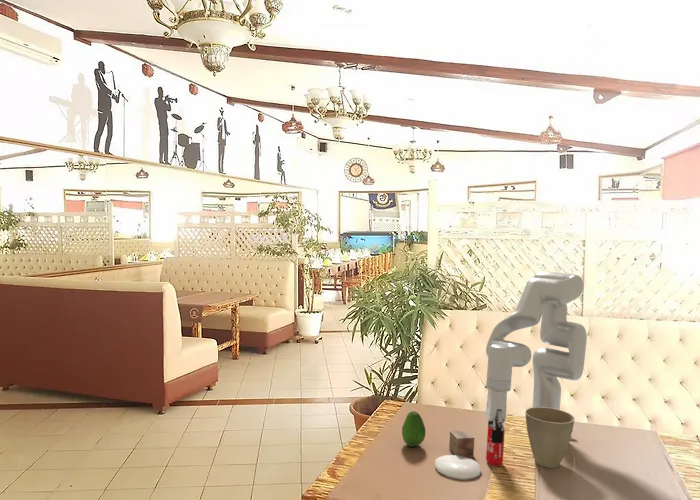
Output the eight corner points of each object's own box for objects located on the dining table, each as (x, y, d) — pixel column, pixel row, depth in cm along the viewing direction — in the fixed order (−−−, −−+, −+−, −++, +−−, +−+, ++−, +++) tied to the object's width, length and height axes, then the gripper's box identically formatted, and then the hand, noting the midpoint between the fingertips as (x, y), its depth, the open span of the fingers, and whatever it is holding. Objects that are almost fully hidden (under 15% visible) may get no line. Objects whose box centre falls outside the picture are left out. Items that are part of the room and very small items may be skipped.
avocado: (398, 447, 179) (400, 412, 178) (405, 439, 186) (406, 405, 185) (421, 452, 176) (423, 417, 175) (427, 443, 183) (429, 409, 182)
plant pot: (569, 457, 177) (573, 410, 176) (573, 477, 163) (576, 426, 162) (522, 449, 182) (525, 403, 181) (521, 468, 168) (524, 418, 167)
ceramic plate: (478, 461, 171) (478, 457, 171) (483, 481, 157) (483, 477, 157) (434, 456, 173) (434, 453, 173) (435, 476, 159) (435, 472, 159)
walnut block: (465, 447, 181) (466, 430, 181) (473, 455, 175) (474, 437, 175) (449, 448, 180) (450, 431, 180) (456, 456, 174) (457, 438, 174)
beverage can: (503, 467, 167) (505, 430, 167) (486, 465, 168) (488, 428, 168) (502, 460, 172) (504, 424, 172) (485, 458, 174) (487, 422, 173)
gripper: (483, 375, 178) (479, 426, 179) (489, 390, 161) (485, 446, 161) (506, 377, 177) (502, 428, 178) (515, 392, 160) (511, 448, 160)
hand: (494, 436), depth 170 cm, fingers open, 9 cm apart
